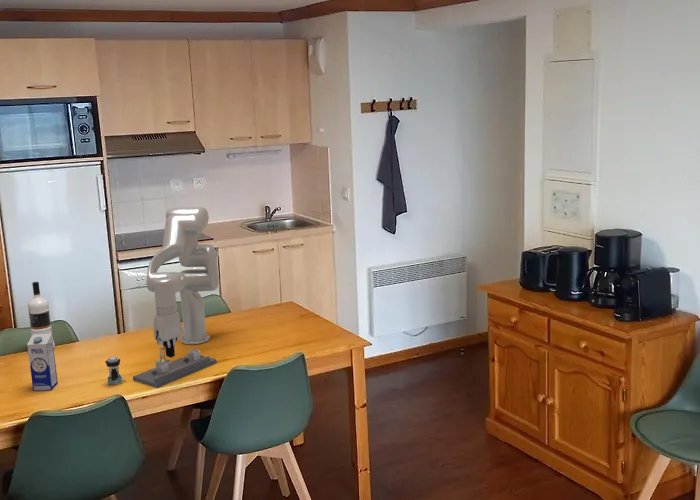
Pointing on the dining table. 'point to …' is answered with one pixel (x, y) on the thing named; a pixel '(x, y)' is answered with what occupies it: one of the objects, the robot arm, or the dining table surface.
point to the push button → (114, 371)
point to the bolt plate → (176, 369)
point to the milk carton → (42, 362)
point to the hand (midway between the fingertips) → (170, 356)
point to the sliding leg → (161, 363)
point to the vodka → (39, 313)
